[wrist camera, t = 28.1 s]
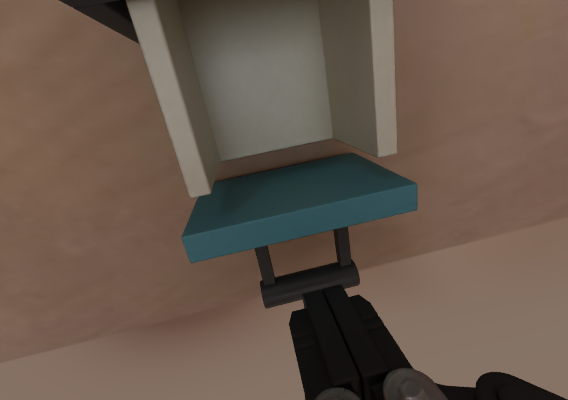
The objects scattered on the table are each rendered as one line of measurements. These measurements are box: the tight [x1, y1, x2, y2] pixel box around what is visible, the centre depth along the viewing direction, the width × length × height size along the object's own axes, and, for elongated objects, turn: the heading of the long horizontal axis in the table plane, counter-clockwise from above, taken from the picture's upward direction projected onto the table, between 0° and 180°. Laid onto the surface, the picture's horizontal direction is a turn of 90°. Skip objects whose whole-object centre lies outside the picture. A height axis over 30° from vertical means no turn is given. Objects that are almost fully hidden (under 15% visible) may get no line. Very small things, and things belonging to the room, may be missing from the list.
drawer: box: [125, 0, 417, 308], centre depth 13 cm, size 16×9×7 cm, turn 10°
